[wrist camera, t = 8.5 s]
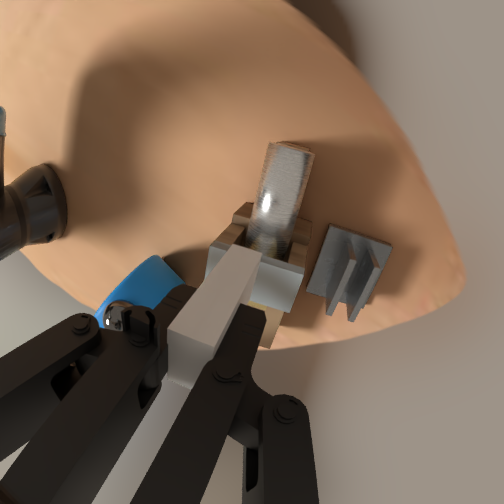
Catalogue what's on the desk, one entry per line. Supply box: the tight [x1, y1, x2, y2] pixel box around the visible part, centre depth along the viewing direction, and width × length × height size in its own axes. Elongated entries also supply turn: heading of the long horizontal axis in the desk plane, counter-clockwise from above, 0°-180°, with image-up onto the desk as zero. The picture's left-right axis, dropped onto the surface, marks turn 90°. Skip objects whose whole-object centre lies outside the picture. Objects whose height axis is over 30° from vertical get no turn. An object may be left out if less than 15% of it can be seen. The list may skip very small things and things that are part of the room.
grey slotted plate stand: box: [306, 223, 393, 322], centre depth 29 cm, size 8×9×6 cm
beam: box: [204, 141, 312, 349], centre depth 28 cm, size 24×8×11 cm, turn 167°
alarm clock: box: [94, 255, 186, 331], centre depth 33 cm, size 13×6×15 cm, turn 135°
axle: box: [244, 142, 315, 261], centre depth 24 cm, size 10×4×4 cm, turn 167°
